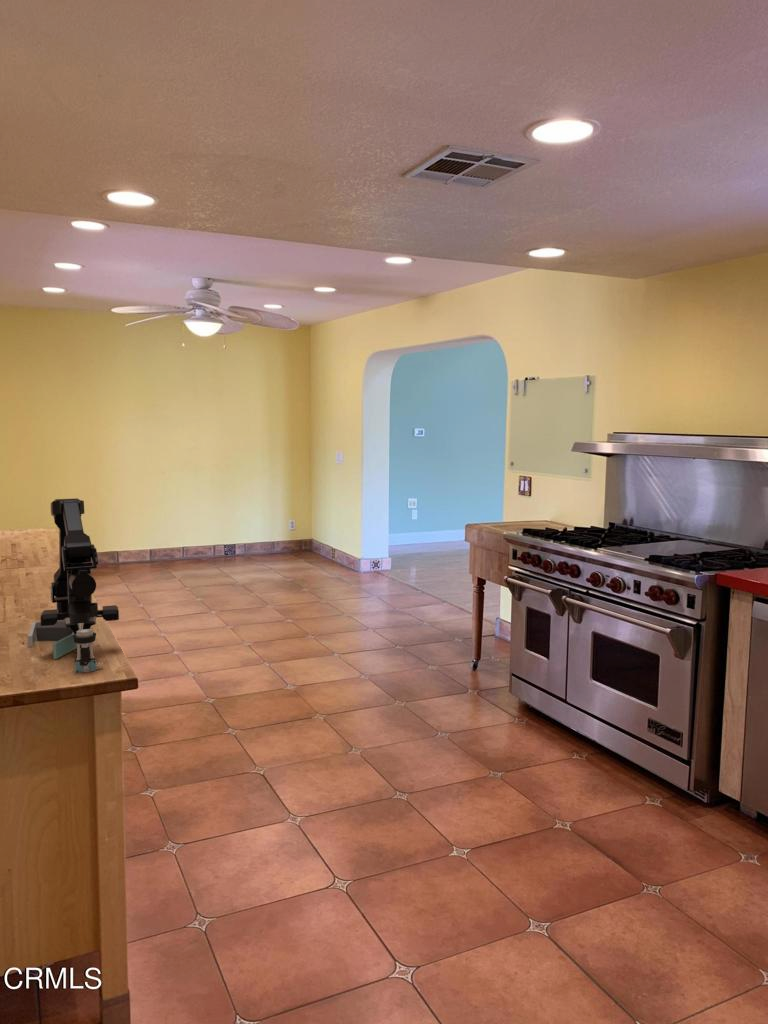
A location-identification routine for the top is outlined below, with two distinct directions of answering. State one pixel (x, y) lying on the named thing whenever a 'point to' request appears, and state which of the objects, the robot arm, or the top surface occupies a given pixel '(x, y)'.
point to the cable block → (53, 632)
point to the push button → (85, 651)
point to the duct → (33, 631)
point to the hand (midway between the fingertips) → (81, 647)
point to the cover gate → (64, 646)
